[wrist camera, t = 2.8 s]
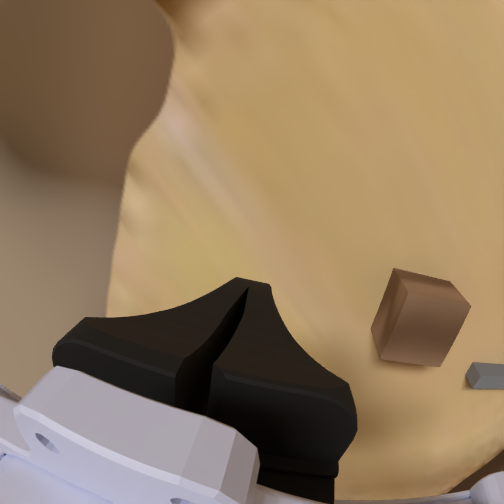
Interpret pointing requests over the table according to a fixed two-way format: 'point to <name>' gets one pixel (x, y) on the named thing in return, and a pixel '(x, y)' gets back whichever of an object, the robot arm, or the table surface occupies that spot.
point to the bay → (486, 376)
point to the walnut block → (418, 319)
